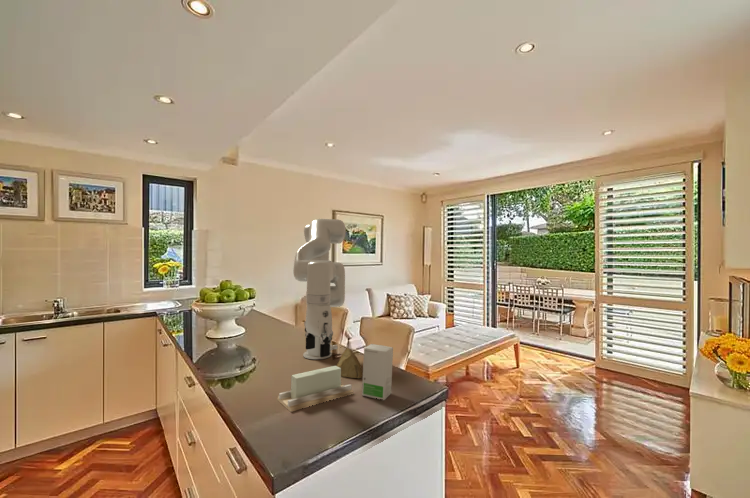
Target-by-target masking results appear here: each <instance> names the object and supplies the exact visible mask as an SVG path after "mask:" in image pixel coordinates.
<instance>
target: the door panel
mask: <svg viewBox="0 0 750 498" xmlns="http://www.w3.org/2000/svg"><path fill="white" fill-rule="evenodd" d="M290 379H291V381H290V383H291V385H290V391H291V398H292V399H296V398H299V397H303V396H307V395H311V394H315V393H318V392H322V391H326V390H330V389H334V388H337V387H341V384H342V377H341V368H339V367H337V365H331V366H327V367H323V368H317V369H313V370H310V371H309V370H308V371H304V372H301V373H300V372H299V373H296V374H292V375H291V378H290Z"/></svg>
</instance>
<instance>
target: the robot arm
mask: <svg viewBox="0 0 750 498" xmlns="http://www.w3.org/2000/svg"><path fill="white" fill-rule="evenodd" d="M346 230H347V229H346V225H345V222H344V221H343V220H341V219H338V218H337V219H333V218H318V219H317V218H316V219H314V220H312V221H311V222H310V223H309V224H306V225H305V226H304V228H303V236H304V239H305V243H304V244H303V245H301V246H300V248H299V249H298V250H296V251H297V252H296V253H295V256H294V260H293V261H294V262H293V268H292V269H293V277H294V279H295V280H296V281H298V282H302V283H303V282H305V283H306V293H305V299H306V303H305V304H306V312H305V320H304V322H303V324H304V325H303V326H304V332H305V335H304V337H305V351H304V352H303V354H302V355H303V357H304V358H305V359H308V360H325V359H328V358H330V357H332V353H333V352H331V351H332V350H337V349H338V344H333V345H332V344H331V343H332V340H333V336H334V331H333V315H332V314H333V313H332V308H335V307H336V308H337V307H342V306H343V305H344V304H345V300H346V299H345V298H346V270H345V266H344V265H343V263H342V262H337V261H336V262H335V261H332V260H330V259H329V258H330V256H329V255H330V250H331V247H332V244H334V245H335V244H337V245H338V244H342V243H343V241H344V240H345V237H346ZM331 284H334V285H331Z"/></svg>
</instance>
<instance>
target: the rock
mask: <svg viewBox="0 0 750 498" xmlns="http://www.w3.org/2000/svg"><path fill="white" fill-rule="evenodd" d="M336 366H337V367H339V368H341V378H342V377H343V378H353V379H363V368H362V366H361V363H360V361H359V359H358V357H357V356H356V354H355V353H354V352H353V350H352V349H351V348H348V347H346V348H345V349H344V351H343V352H342V354H341V356H340V358H339V360H338V362H337V364H336Z"/></svg>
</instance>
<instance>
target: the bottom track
mask: <svg viewBox="0 0 750 498" xmlns="http://www.w3.org/2000/svg"><path fill="white" fill-rule="evenodd" d="M352 387H353V385H352V384H350V383H349V384H345V385H344V384H343V383H341V387H337V388H334V389H330V390H326V391H322V392H318V393H315V394H311V395H307V396H303V397H299V398H296V399H292V398H291V390H287V391H283V392H279V394H278V396H276V397H277V402H279V403H280V404H281V405H282V406H283V407H284V408H285V409H287V410H288V412H290V413H292V412H296V411H299V410H303V409H305V408H309V406H310V407H313V406H316V404H317V405H320V404H323V402H324V403H327V402H330V401H329V400H331V401H333V399H334V400H337V399H336V398H338V399H340V397H341V398H344V396H345V397H347V395H348V396H351V394H352V395H354V390H353V389H352ZM326 401H327V402H326ZM319 403H320V404H319ZM312 405H313V406H312ZM302 408H303V409H302Z"/></svg>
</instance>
